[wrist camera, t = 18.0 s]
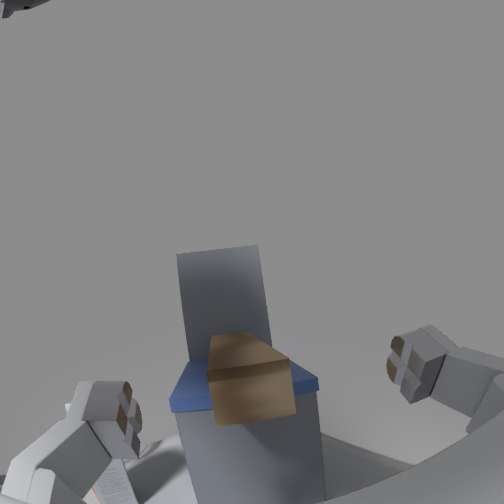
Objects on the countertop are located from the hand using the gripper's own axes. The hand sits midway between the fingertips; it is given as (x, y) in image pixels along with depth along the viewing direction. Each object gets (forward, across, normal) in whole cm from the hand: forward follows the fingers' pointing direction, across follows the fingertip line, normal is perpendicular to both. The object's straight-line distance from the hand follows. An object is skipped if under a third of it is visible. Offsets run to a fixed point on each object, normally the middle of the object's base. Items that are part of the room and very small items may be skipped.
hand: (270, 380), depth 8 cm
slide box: (+12, 0, +11) cm, 16 cm away
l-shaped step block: (+12, 0, +28) cm, 30 cm away
